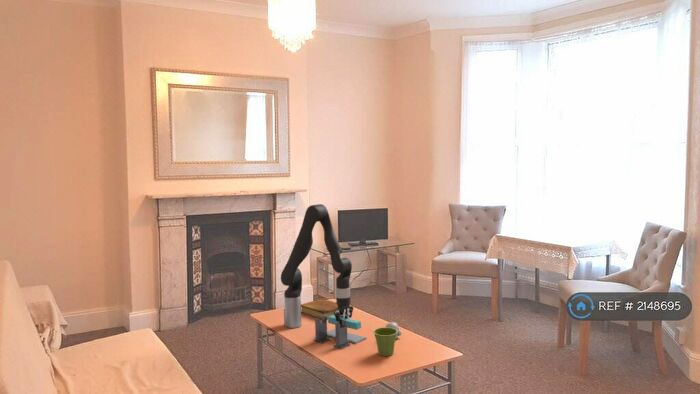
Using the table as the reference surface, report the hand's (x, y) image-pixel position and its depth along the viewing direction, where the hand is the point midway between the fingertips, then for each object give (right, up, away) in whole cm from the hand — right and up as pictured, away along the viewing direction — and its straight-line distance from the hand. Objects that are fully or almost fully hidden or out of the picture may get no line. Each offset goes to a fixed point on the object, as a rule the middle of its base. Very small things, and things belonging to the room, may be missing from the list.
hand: (344, 327), depth 292 cm
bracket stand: (-6, -6, -9) cm, 13 cm away
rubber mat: (0, -5, 0) cm, 5 cm away
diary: (-13, -2, +44) cm, 46 cm away
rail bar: (0, +1, 0) cm, 1 cm away
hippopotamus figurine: (+24, -5, -5) cm, 25 cm away
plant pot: (+21, -7, -25) cm, 33 cm away
